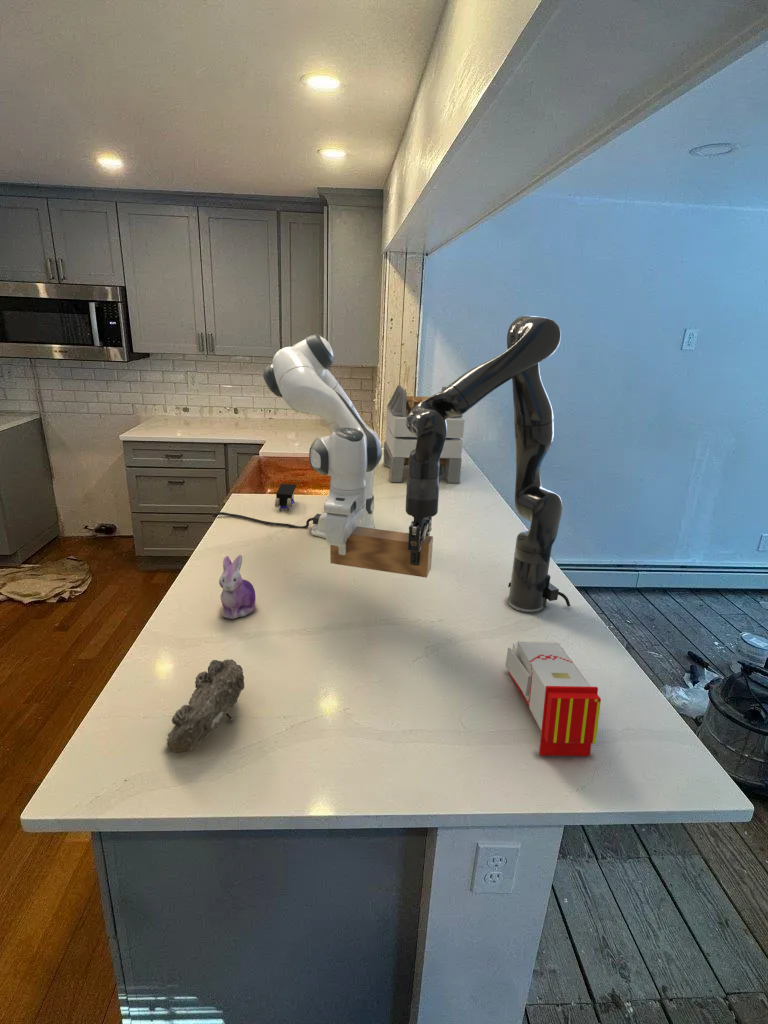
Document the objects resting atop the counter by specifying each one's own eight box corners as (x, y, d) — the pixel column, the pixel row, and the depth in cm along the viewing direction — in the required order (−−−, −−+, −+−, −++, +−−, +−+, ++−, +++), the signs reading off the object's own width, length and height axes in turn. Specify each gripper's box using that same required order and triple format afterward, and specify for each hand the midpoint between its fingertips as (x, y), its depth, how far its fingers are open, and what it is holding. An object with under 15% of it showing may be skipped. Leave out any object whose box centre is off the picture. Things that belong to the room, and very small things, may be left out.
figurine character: (292, 516, 215) (297, 499, 228) (291, 498, 212) (296, 482, 225) (274, 516, 215) (280, 499, 228) (273, 498, 211) (279, 482, 225)
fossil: (192, 660, 117) (244, 628, 112) (224, 691, 120) (276, 661, 115) (142, 746, 98) (202, 712, 93) (182, 779, 101) (242, 748, 96)
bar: (330, 563, 141) (330, 531, 138) (337, 554, 146) (337, 523, 143) (426, 577, 136) (429, 544, 133) (431, 568, 141) (433, 536, 138)
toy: (554, 624, 127) (610, 694, 97) (548, 679, 130) (602, 763, 100) (500, 623, 126) (541, 693, 97) (496, 678, 129) (534, 763, 100)
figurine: (224, 623, 139) (221, 568, 134) (215, 604, 148) (212, 552, 142) (262, 616, 143) (260, 562, 138) (251, 598, 152) (249, 546, 147)
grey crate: (382, 463, 289) (386, 382, 275) (445, 464, 293) (451, 384, 279) (390, 482, 257) (394, 392, 243) (460, 483, 261) (468, 394, 247)
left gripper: (349, 482, 147) (348, 532, 152) (320, 507, 129) (320, 563, 133) (372, 485, 146) (371, 535, 150) (347, 511, 127) (346, 567, 132)
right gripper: (432, 505, 124) (428, 572, 130) (444, 486, 137) (440, 548, 142) (398, 501, 126) (396, 567, 131) (413, 483, 139) (411, 544, 144)
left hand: (347, 548), depth 142 cm, fingers closed on bar, 5 cm apart
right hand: (419, 557), depth 137 cm, fingers open, 8 cm apart
